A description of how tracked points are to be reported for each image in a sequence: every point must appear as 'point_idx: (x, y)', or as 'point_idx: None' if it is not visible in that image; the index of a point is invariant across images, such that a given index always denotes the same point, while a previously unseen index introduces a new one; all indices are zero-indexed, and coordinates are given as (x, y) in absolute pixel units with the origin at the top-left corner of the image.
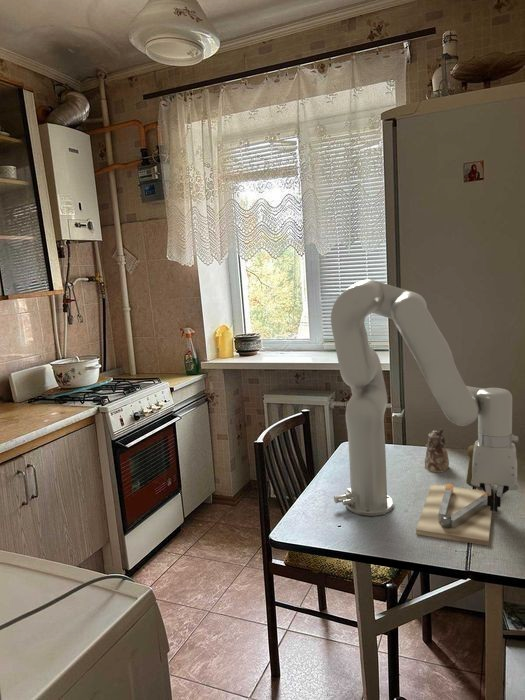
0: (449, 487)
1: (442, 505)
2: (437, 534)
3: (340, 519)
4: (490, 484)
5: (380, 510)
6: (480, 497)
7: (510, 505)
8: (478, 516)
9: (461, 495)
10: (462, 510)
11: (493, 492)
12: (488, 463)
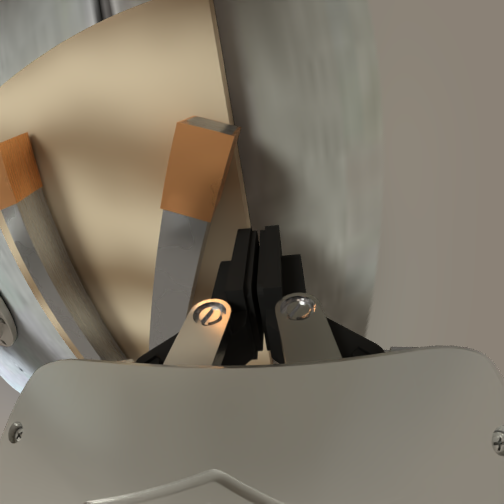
0: (3, 191)
1: (84, 353)
2: None
3: (5, 353)
4: (216, 365)
5: (10, 337)
6: (164, 237)
7: (331, 74)
8: None
9: (63, 139)
10: None
11: (249, 302)
12: None
